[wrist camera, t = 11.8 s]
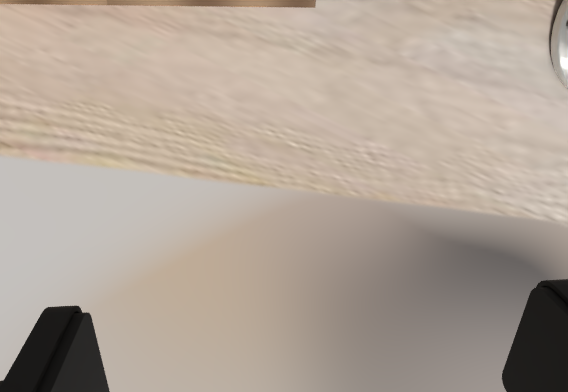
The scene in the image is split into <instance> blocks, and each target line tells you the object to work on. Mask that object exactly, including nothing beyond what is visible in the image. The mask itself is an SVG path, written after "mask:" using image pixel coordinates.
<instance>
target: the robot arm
mask: <svg viewBox="0 0 568 392" xmlns="http://www.w3.org/2000/svg"><path fill="white" fill-rule="evenodd" d="M551 58H552V62H553V66H554V70H555V72H556V74H557V76H558V78H559V80H560V81H561V82H562V83H563V84H564V85H565V87H566V88H567V89H568V0H563V2H562V4H561V6H560V8H559V10H558V13H557V16H556V19H555V22H554V25H553V31H552V37H551ZM502 380H503V385H504V388H505V389H506V391H507V392H568V279H566V280H546V281H541V282H540V283H538V285H537V287H536V288H534V289H533V290H532V291H531V293H530V295H529V298H528V301H527V304H526V307H525V310H524V313H523V316H522V318H521V321H520V324H519V327H518V330H517V332H516V335H515V338H514V341H513V344H512V347H511V350H510V353H509V355H508V358H507V361H506V364H505V367H504V370H503V373H502ZM0 392H109V388H108V384H107V380H106V375H105V371H104V367H103V363H102V359H101V355H100V351H99V347H98V343H97V338H96V334H95V330H94V326H93V323H92V318H91V315H90V314H89V313H82V311H81V308H80V307H79V306H61V307H48V308H46V309H45V310H44V311H43V312H42V314H41V315H40V317H39V319H38V321H37V323H36V324H35V326H34V328H33V330H32V331H31V333H30V335H29V337H28V338H27V340H26V342H25V344H24V346H23V347H22V349H21V351H20V353H19V354H18V356H17V358H16V360H15V362H14V363H13V365H12V367H11V369H10V370H9V372H8V374H7V376H6V377H5V379H4V380H3V381H0Z"/></svg>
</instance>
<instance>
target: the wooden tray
mask: <svg viewBox="0 0 568 392" xmlns="http://www.w3.org/2000/svg"><path fill="white" fill-rule="evenodd" d="M315 2H316V0H0V4H56V5H143V6H229V7H315Z"/></svg>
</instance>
